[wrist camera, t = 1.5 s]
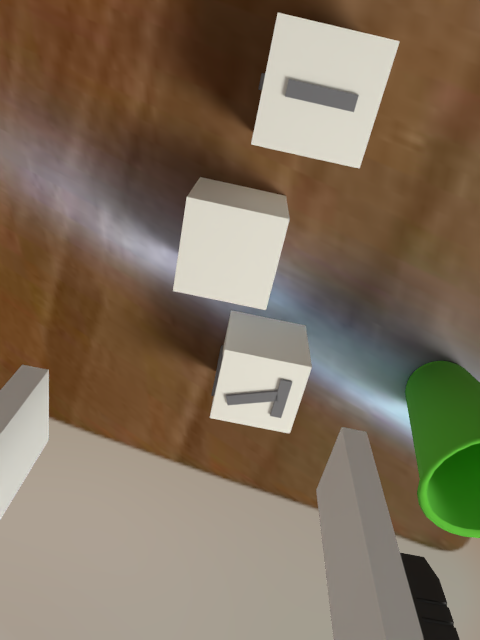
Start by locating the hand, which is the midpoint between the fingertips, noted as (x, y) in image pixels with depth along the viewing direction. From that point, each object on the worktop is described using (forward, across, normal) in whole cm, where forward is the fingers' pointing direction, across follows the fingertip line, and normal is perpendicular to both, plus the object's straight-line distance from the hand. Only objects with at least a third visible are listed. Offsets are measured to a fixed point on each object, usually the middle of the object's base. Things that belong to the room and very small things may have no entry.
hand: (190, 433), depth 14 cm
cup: (+22, +19, -10) cm, 30 cm away
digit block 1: (+21, +3, +10) cm, 24 cm away
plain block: (+21, 0, 0) cm, 21 cm away
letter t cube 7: (+21, +4, -10) cm, 24 cm away
